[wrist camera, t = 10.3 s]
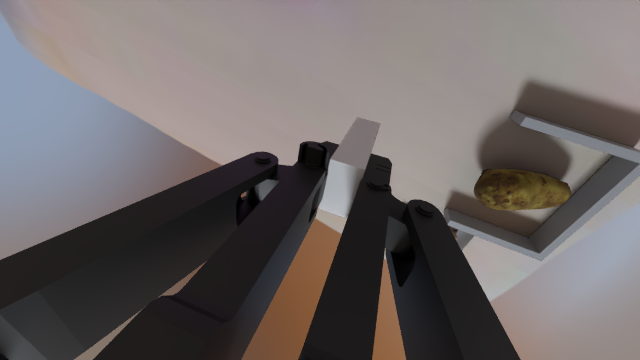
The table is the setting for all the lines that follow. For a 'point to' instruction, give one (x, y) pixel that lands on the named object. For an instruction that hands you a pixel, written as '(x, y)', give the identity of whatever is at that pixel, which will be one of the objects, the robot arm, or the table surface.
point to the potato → (520, 190)
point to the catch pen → (575, 209)
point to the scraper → (462, 237)
